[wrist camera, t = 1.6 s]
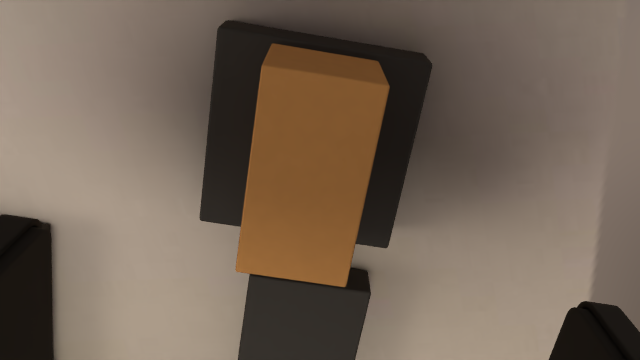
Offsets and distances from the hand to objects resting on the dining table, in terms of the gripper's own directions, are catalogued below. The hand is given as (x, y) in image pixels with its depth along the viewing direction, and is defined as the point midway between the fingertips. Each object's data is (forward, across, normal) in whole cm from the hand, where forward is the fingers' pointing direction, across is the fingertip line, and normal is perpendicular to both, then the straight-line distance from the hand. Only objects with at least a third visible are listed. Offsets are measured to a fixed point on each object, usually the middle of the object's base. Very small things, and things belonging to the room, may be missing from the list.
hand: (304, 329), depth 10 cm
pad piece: (+10, 0, -1) cm, 10 cm away
